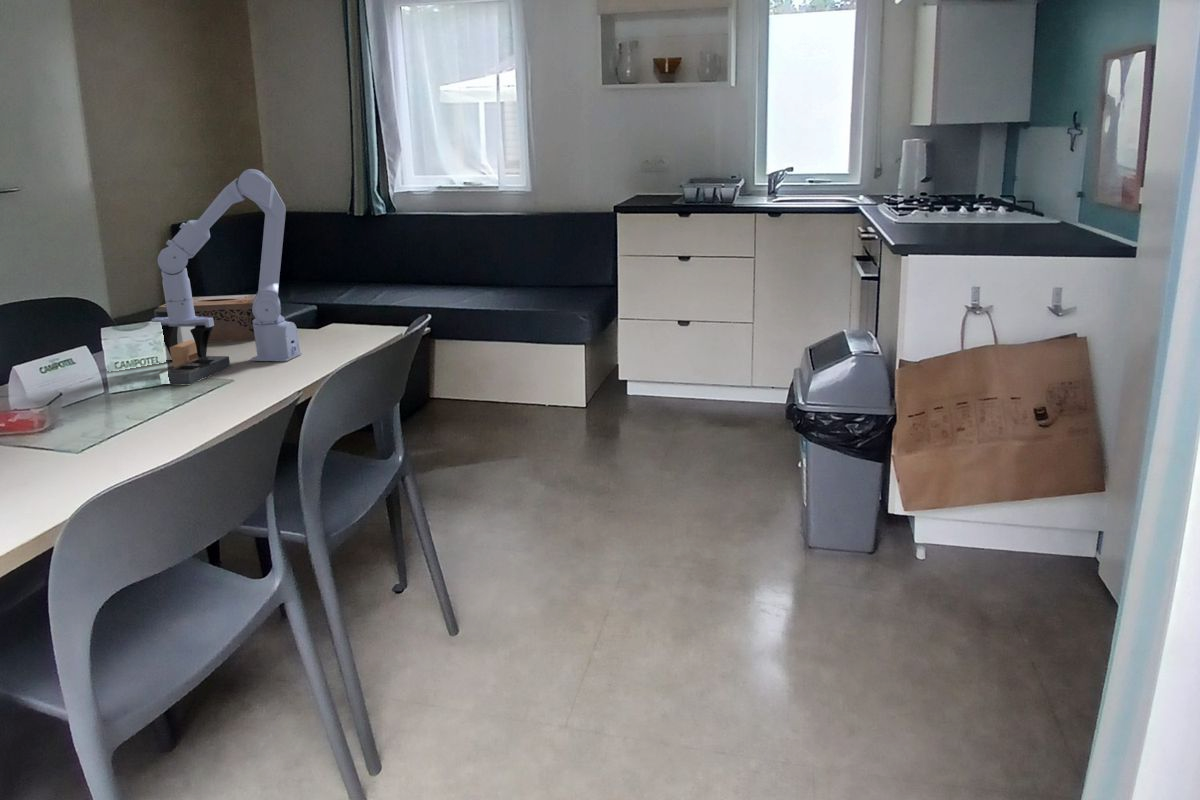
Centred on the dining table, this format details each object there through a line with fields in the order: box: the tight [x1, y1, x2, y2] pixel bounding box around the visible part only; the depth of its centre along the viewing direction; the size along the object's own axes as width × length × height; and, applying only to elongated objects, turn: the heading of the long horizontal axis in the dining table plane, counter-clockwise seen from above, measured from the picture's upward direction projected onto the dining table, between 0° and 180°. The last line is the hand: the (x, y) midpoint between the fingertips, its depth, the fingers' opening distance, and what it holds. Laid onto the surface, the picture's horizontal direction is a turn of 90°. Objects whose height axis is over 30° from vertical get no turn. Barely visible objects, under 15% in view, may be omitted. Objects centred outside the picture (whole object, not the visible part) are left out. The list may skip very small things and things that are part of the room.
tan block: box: [169, 340, 198, 368], centre depth 214 cm, size 8×3×6 cm, turn 170°
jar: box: [153, 307, 195, 361], centre depth 223 cm, size 9×8×12 cm
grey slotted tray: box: [167, 355, 231, 385], centre depth 206 cm, size 16×7×2 cm, turn 170°
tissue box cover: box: [157, 293, 257, 343], centre depth 247 cm, size 26×14×10 cm, turn 95°
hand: (188, 356), depth 214 cm, fingers open, 6 cm apart
